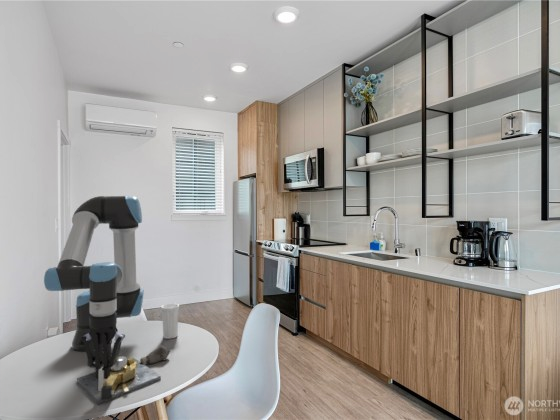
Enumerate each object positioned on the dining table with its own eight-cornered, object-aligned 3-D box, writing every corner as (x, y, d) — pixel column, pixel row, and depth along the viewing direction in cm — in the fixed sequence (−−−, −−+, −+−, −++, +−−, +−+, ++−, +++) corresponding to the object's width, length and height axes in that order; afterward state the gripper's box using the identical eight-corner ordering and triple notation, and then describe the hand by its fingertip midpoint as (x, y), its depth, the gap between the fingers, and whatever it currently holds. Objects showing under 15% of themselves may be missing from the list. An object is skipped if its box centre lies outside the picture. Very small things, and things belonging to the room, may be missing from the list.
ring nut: (106, 370, 119) (106, 358, 119) (139, 366, 122) (139, 355, 122) (86, 401, 100) (85, 387, 100) (125, 397, 102) (125, 383, 102)
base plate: (76, 381, 115) (76, 360, 115) (135, 361, 129) (134, 343, 129) (99, 406, 100) (99, 382, 100) (162, 380, 115) (162, 359, 115)
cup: (176, 340, 150) (176, 308, 150) (158, 340, 150) (157, 308, 150) (181, 333, 158) (181, 303, 158) (164, 333, 158) (164, 303, 158)
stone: (140, 370, 124) (154, 357, 123) (135, 356, 127) (149, 344, 126) (160, 366, 133) (174, 354, 131) (156, 354, 135) (169, 342, 134)
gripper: (75, 316, 101) (75, 394, 101) (117, 317, 101) (117, 395, 101) (89, 309, 109) (89, 382, 109) (129, 309, 109) (129, 382, 109)
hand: (103, 388), depth 105 cm, fingers closed
